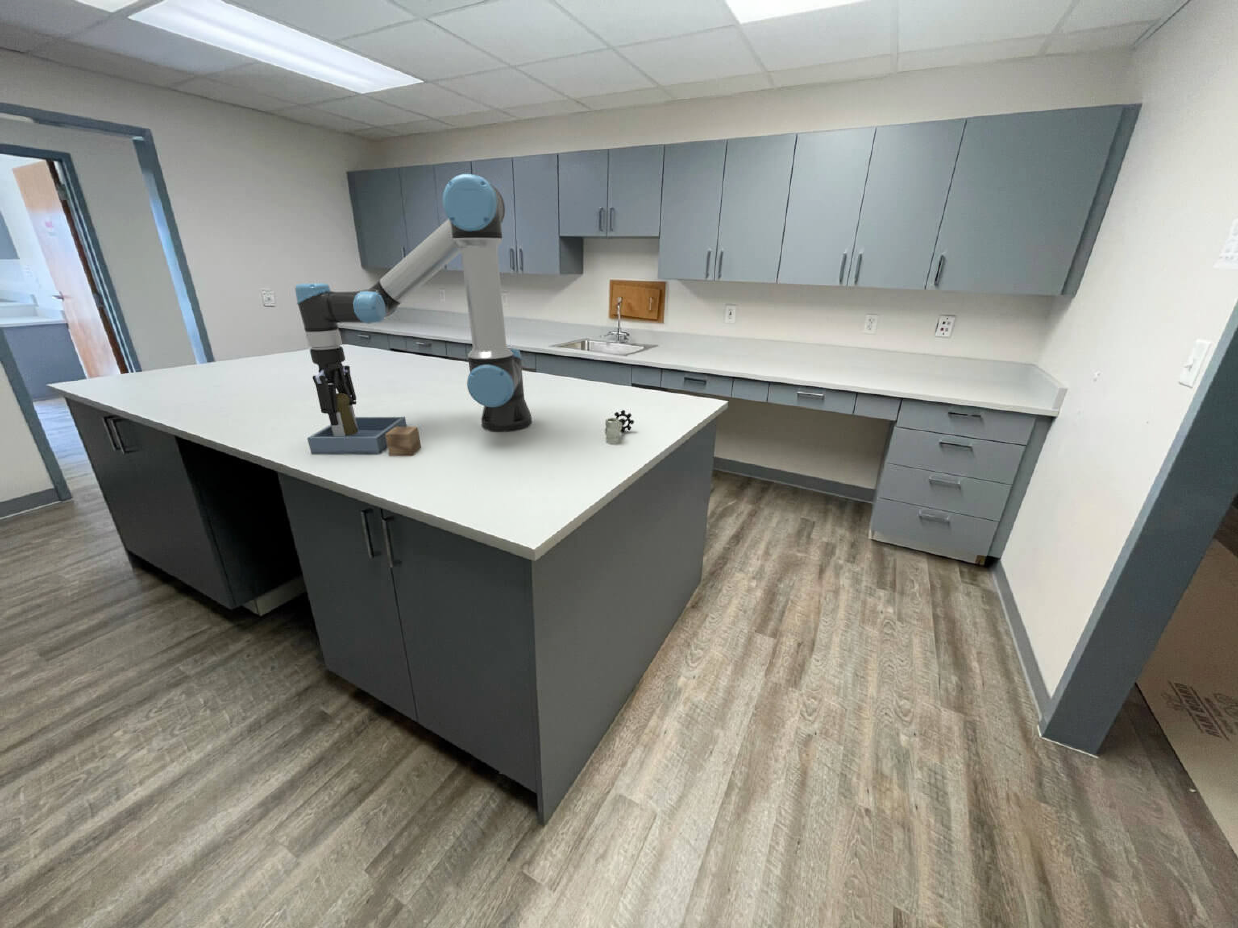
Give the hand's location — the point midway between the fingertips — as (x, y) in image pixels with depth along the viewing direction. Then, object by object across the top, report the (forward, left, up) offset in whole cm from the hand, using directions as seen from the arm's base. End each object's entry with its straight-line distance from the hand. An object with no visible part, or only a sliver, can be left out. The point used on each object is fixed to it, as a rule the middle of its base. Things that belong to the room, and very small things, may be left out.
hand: (346, 431), depth 134 cm
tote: (-4, 0, -3) cm, 5 cm away
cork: (0, 0, -1) cm, 1 cm away
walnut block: (-19, +7, -3) cm, 20 cm away
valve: (-75, -4, -3) cm, 75 cm away
